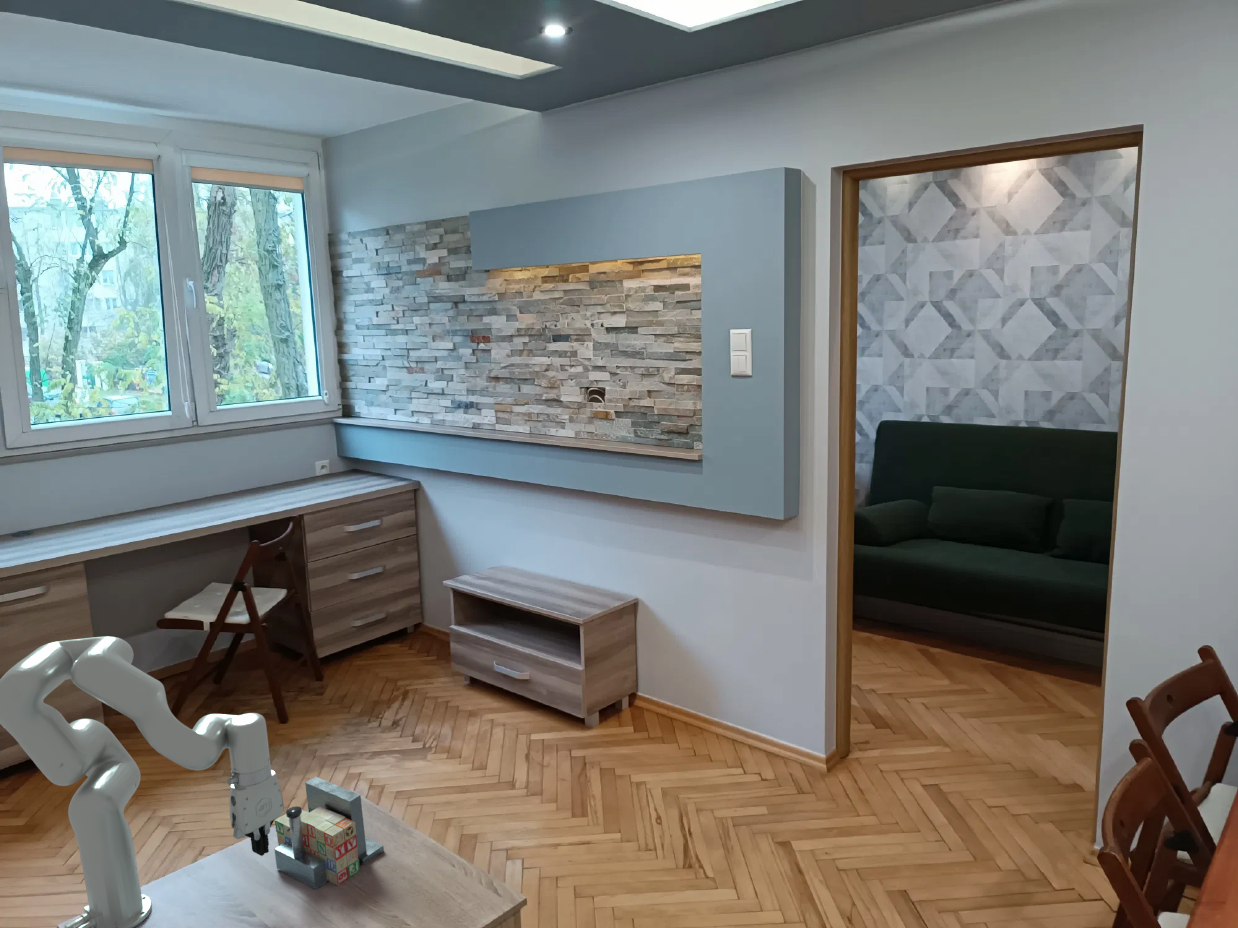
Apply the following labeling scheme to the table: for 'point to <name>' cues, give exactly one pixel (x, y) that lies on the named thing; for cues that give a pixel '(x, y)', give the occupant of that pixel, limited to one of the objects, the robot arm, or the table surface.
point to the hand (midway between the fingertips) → (261, 851)
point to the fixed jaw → (343, 812)
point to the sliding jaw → (300, 855)
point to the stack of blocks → (326, 841)
